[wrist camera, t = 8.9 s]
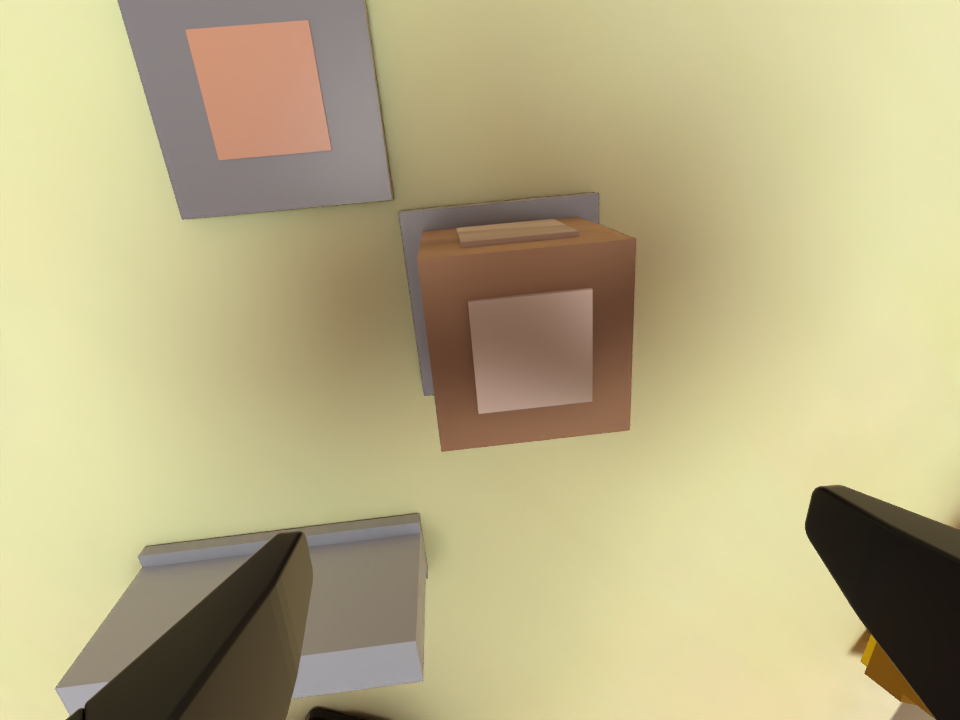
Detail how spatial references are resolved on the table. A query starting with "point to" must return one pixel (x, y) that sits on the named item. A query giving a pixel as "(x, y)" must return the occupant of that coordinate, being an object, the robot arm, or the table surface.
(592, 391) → the brown paneled cube
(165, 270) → the table surface
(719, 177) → the table surface
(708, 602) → the table surface
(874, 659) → the toy gun
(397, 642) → the screen
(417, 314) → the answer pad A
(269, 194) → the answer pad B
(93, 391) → the table surface
